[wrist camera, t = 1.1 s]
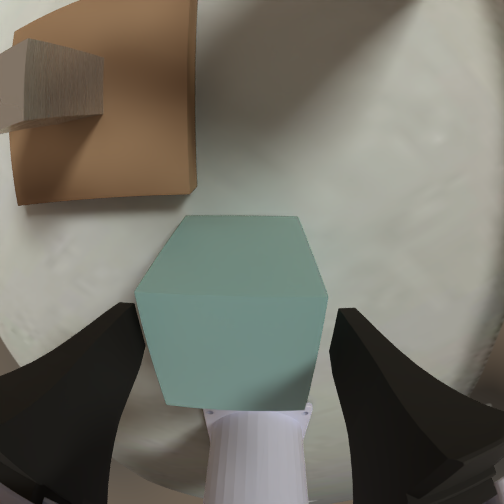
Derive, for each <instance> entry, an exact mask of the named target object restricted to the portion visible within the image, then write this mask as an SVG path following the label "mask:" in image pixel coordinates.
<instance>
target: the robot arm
mask: <svg viewBox="0 0 504 504" xmlns="http://www.w3.org/2000/svg"><path fill="white" fill-rule="evenodd" d="M144 350H145V342H144V338H143V335H142V331H141V327H140V323H139V320H138V316H137V312H136V308H135V304H134V303H123V302H120V303H118V304H116V305H115V306H113V307H112V308H111V309H109V310H108V311H106V312H105V313H104V314H102V315H101V316H100V317H98V318H97V319H96V320H94V321H93V322H92V323H90V324H89V325H88V326H86V327H85V328H84V329H82V330H81V331H80V332H78V333H77V334H76V335H74V336H73V337H71V338H70V339H68V340H67V341H66V342H64V343H63V344H61V345H60V346H58V347H57V348H55V349H54V350H52V351H51V352H49V353H47V354H46V355H44V356H42V357H40V358H39V359H37V360H35V361H33V362H31V363H29V364H27V365H25V366H23V367H21V368H18V369H16V370H14V371H12V372H10V373H7V374H5V375H2V376H0V504H107V497H108V496H107V495H108V481H109V472H110V463H111V458H112V452H113V446H114V441H115V437H116V432H117V428H118V424H119V421H120V418H121V415H122V412H123V409H124V407H125V404H126V402H127V399H128V397H129V394H130V392H131V389H132V387H133V384H134V382H135V379H136V376H137V374H138V371H139V369H140V365H141V362H142V358H143V354H144ZM329 353H330V360H331V367H332V374H333V378H334V382H335V386H336V389H337V393H338V397H339V400H340V404H341V408H342V411H343V415H344V419H345V423H346V427H347V432H348V438H349V446H350V454H351V465H352V479H353V504H504V477H502V478H501V479H499V480H498V481H496V482H495V483H493V480H492V478H491V477H493V476H494V475H495V474H496V471H495V468H494V465H495V464H496V463H497V462H498V461H499V460H501V459H502V458H503V457H504V411H501V410H498V409H495V408H493V407H490V406H487V405H485V404H482V403H480V402H478V401H476V400H473V399H471V398H469V397H467V396H465V395H463V394H461V393H459V392H457V391H456V390H454V389H452V388H451V387H449V386H447V385H445V384H444V383H442V382H441V381H439V380H437V379H436V378H434V377H433V376H432V375H430V374H429V373H427V372H426V371H425V370H423V369H422V368H420V367H419V366H418V365H417V364H415V363H414V362H413V361H412V360H410V359H409V358H408V357H407V356H406V355H404V354H403V353H402V352H401V351H400V350H399V349H397V348H396V347H395V346H394V345H393V344H392V343H391V342H390V341H389V340H388V339H387V338H386V337H384V336H383V335H382V334H381V333H380V332H379V331H378V330H377V329H376V328H375V327H374V326H373V325H372V324H371V323H370V322H369V321H368V320H367V319H366V318H365V317H364V316H363V315H362V314H361V313H360V312H359V311H358V310H357V309H356V308H339V309H338V313H337V318H336V323H335V328H334V332H333V337H332V341H331V345H330V349H329ZM312 410H313V407H312V404H311V403H306V407H305V410H299V411H234V410H215V409H203V412H204V417H205V421H206V426H207V430H208V434H209V439H210V450H209V459H208V467H207V475H206V483H205V492H204V500H203V504H308V492H307V481H306V469H305V459H304V448H303V439H304V436H305V433H306V430H307V427H308V423H309V420H310V417H311V413H312Z"/></svg>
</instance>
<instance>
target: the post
mask: <svg viewBox="0 0 504 504" xmlns="http://www.w3.org/2000/svg"><path fill="white" fill-rule="evenodd" d="M103 70H104V58H103V57H100V56H97V55H94V54H90V53H87V52H83V51H80V50H76V49H73V48H69V47H65V46H61V45H57V44H53V43H49V42H44V41H39V40H35V39H30V38H27V39H26V40H24V41H22V42H20V43H18V44H16V45H15V46H13V47H11V48H9V49H8V50H6V51H4V52H3V53H1V54H0V134H3V133H8V132H13V131H18V130H23V129H29V128H35V127H42V126H49V125H57V124H61V123H65V122H69V121H73V120H78V119H82V118H87V117H91V116H96V115H101V114H103Z"/></svg>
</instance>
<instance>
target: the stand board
mask: <svg viewBox="0 0 504 504" xmlns="http://www.w3.org/2000/svg"><path fill="white" fill-rule="evenodd" d="M197 2H198V0H79V1H77V2H74V3H72V4H69V5H67V6H64V7H62V8H60V9H58V10H55V11H53V12H51V13H49V14H47V15H45V16H43V17H41V18H39V19H37V20H35V21H33V22H31V23H29V24H27V25H26V26H24V27H22V28H20V29H19V30H17V31H15V32H14V39H13V46H15V45H16V44H18V43H20V42H22V41H24V40H26V39H27V38H30V39H35V40H39V41H44V42H49V43H53V44H57V45H61V46H65V47H69V48H73V49H76V50H80V51H83V52H87V53H90V54H94V55H97V56H100V57H103V58H104V70H103V114H101V115H96V116H91V117H87V118H82V119H78V120H73V121H69V122H65V123H61V124H57V125H49V126H42V127H35V128H29V129H23V130H18V131H13V132H9V137H10V151H11V161H12V170H13V178H14V185H15V191H16V197H17V203H18V206H21V205H29V204H38V203H48V202H58V201H69V200H82V199H95V198H110V197H127V196H148V195H178V194H190V193H191V192H192V191H193V190H194V189H195V188H196V187H197V173H196V139H195V53H196V22H197ZM13 46H12V47H13Z"/></svg>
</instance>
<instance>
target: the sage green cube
mask: <svg viewBox="0 0 504 504" xmlns="http://www.w3.org/2000/svg"><path fill="white" fill-rule="evenodd" d="M134 293H135V298H136V302H137V306H138V310H139V314H140V318H141V322H142V326H143V330H144V334H145V338H146V341H147V345H148V348H149V352H150V355H151V359H152V362H153V365H154V368H155V372H156V375H157V378H158V381H159V384H160V387H161V390H162V393H163V396H164V399H165V402H166V404H167V405H173V406H181V407H191V408H202V409H215V410H234V411H299V410H305V407H306V403H307V399H308V395H309V390H310V386H311V382H312V378H313V373H314V369H315V364H316V359H317V355H318V350H319V345H320V340H321V335H322V330H323V324H324V319H325V313H326V308H327V302H328V294H327V291H326V289H325V286H324V283H323V280H322V278H321V275H320V272H319V270H318V267H317V264H316V262H315V259H314V256H313V254H312V251H311V248H310V246H309V243H308V241H307V238H306V235H305V233H304V230H303V228H302V225H301V223H300V220H299V218H298V217H291V216H185V218H184V219H183V221H182V222H181V223H180V225H179V226H178V228H177V229H176V230H175V232H174V233H173V235H172V236H171V238H170V239H169V240H168V242H167V243H166V245H165V246H164V248H163V249H162V251H161V252H160V254H159V255H158V256H157V258H156V259H155V261H154V262H153V264H152V265H151V267H150V268H149V270H148V271H147V273H146V274H145V276H144V278H143V279H142V281H141V282H140V284H139V285H138V287H137V288H136V290H135V292H134Z"/></svg>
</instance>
